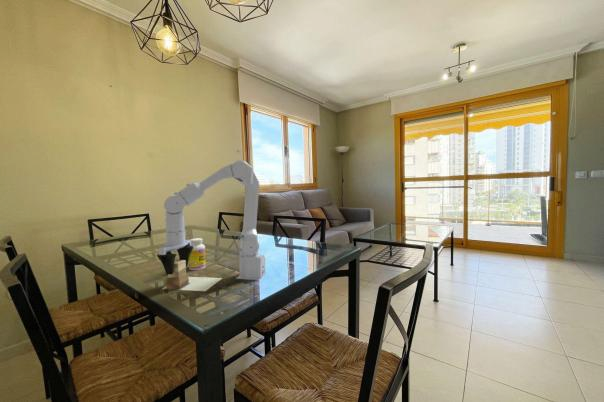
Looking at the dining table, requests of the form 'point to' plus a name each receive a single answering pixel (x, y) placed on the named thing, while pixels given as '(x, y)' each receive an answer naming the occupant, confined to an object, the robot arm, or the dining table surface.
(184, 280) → the walnut base
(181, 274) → the maple pillar
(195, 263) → the supplement bottle
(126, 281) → the dining table surface
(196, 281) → the cream flat slab
